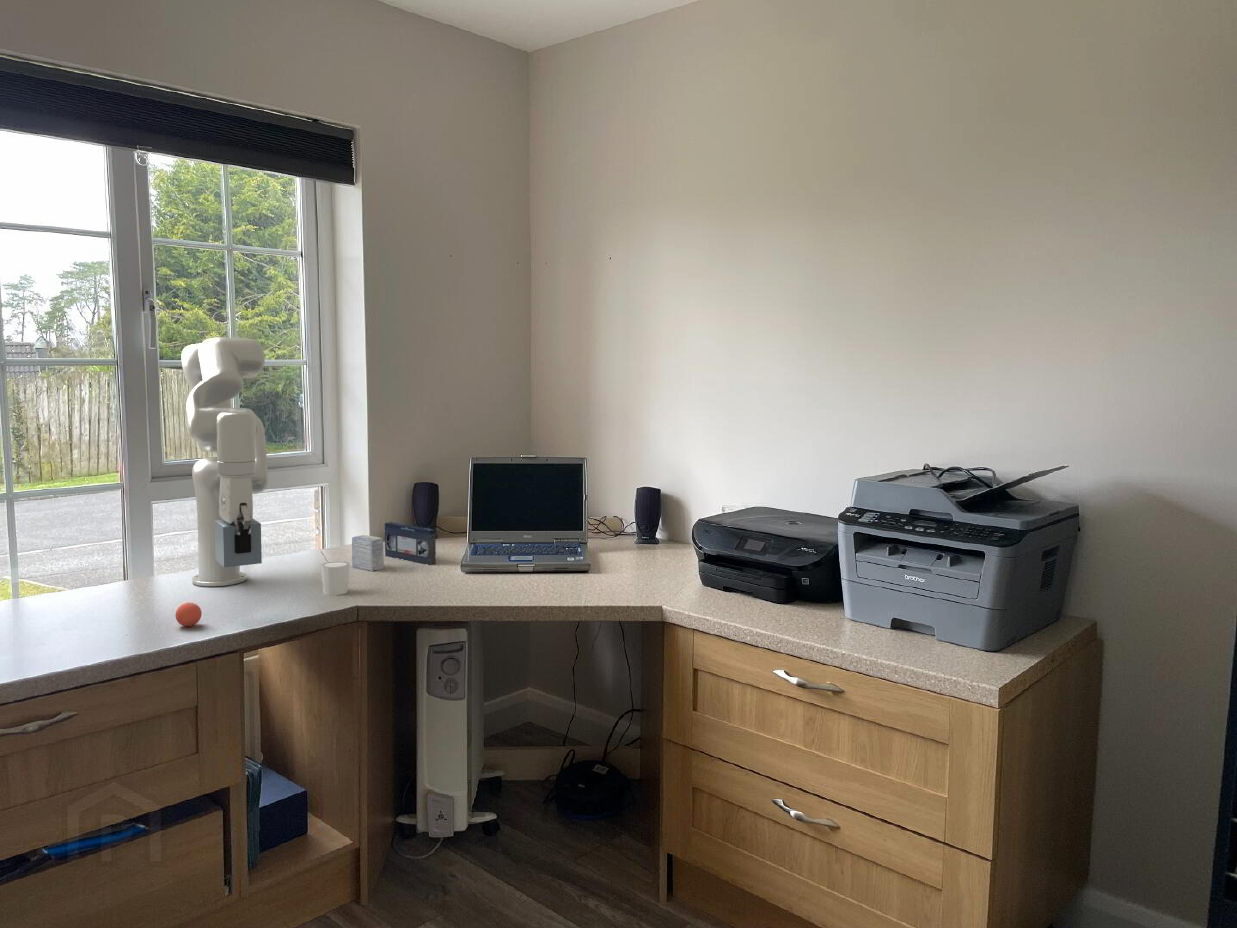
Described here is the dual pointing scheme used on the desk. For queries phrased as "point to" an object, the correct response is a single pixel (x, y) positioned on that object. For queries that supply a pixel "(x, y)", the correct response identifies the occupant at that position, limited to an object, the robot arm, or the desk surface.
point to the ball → (188, 614)
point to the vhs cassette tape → (410, 543)
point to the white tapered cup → (335, 577)
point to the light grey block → (367, 552)
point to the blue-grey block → (227, 544)
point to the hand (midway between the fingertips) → (237, 548)
